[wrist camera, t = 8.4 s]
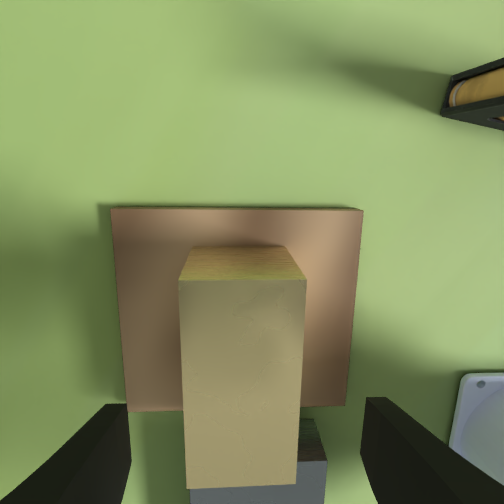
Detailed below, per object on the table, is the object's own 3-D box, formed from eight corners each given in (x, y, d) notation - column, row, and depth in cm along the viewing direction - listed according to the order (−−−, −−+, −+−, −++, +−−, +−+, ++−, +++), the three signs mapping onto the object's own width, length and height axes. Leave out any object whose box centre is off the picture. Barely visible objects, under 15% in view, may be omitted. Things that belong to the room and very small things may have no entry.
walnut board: (357, 208, 18) (363, 210, 17) (340, 396, 21) (345, 405, 20) (115, 206, 17) (110, 208, 16) (131, 402, 20) (127, 412, 19)
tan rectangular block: (285, 246, 17) (306, 279, 12) (279, 403, 19) (295, 484, 15) (192, 246, 17) (177, 280, 12) (197, 406, 19) (186, 489, 14)
